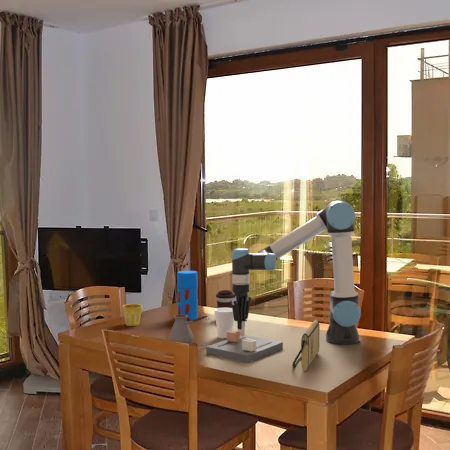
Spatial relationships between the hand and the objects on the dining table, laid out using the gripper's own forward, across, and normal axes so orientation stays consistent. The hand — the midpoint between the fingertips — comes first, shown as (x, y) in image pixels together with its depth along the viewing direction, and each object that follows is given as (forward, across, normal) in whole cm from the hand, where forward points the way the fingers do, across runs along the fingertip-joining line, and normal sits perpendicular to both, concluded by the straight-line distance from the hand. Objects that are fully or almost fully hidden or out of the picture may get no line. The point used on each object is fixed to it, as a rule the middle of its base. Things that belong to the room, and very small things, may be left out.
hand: (241, 335), depth 274 cm
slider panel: (+5, +6, +6) cm, 10 cm away
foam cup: (+5, -8, -15) cm, 18 cm away
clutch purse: (+5, +4, +35) cm, 36 cm away
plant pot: (+4, 0, -68) cm, 69 cm away
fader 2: (+1, +13, +13) cm, 19 cm away
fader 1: (+1, +5, 0) cm, 6 cm away
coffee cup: (+5, -38, -38) cm, 54 cm away
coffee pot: (+5, +14, -19) cm, 24 cm away
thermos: (+5, -28, -55) cm, 62 cm away
